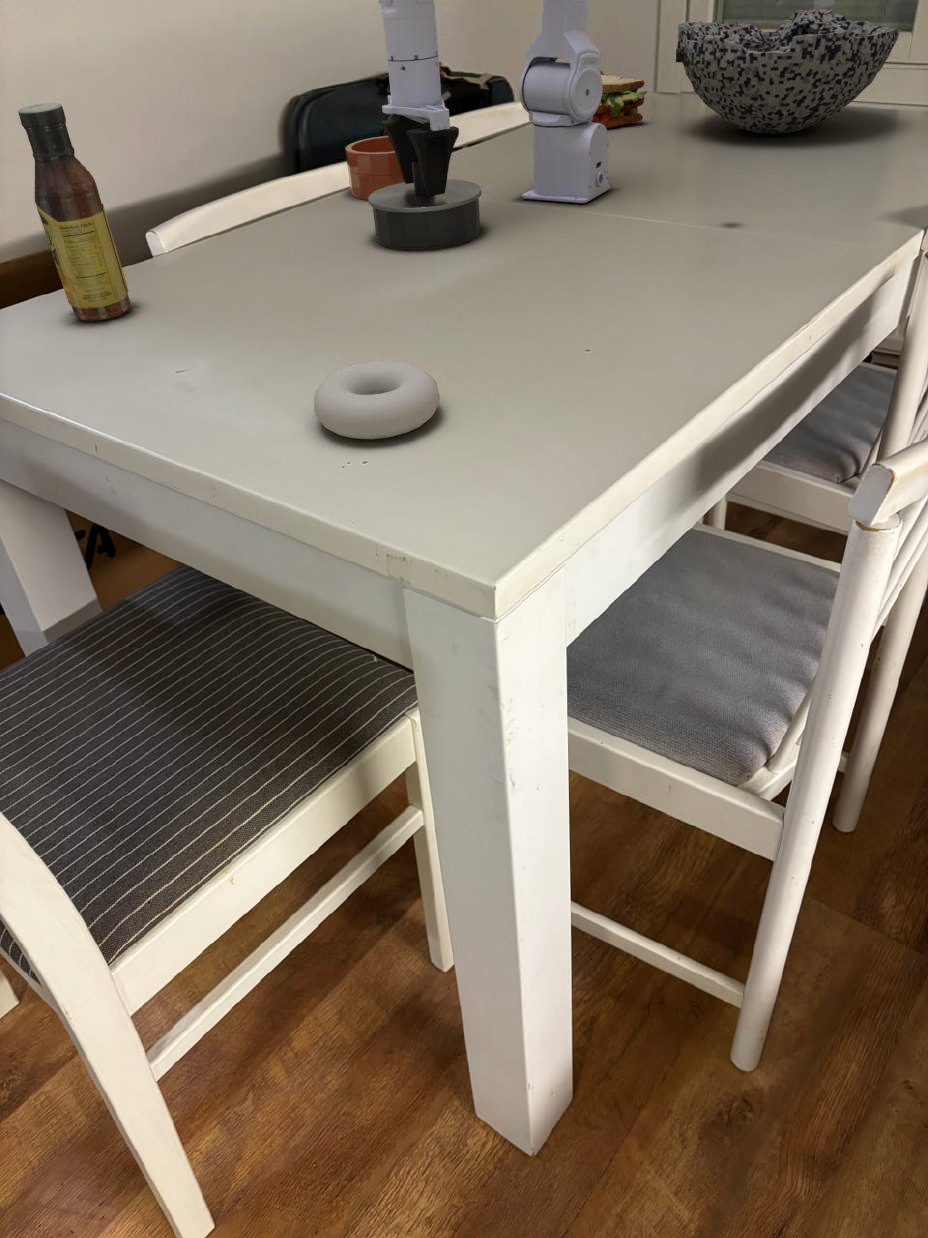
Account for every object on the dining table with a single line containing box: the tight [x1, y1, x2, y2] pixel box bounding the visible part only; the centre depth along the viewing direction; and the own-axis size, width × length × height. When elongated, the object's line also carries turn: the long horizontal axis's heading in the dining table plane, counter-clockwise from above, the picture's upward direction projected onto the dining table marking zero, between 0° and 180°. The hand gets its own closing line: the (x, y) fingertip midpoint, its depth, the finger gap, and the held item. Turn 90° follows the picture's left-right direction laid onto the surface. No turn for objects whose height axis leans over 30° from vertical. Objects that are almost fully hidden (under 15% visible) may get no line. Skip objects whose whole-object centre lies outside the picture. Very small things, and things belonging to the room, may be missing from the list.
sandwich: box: [591, 69, 648, 129], centre depth 161 cm, size 16×12×8 cm
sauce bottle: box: [17, 102, 132, 322], centre depth 96 cm, size 7×6×20 cm
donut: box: [313, 360, 440, 440], centre depth 75 cm, size 10×4×10 cm
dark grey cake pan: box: [372, 197, 481, 252], centre depth 116 cm, size 13×13×4 cm
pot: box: [344, 135, 404, 201], centre depth 135 cm, size 12×12×6 cm
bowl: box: [675, 9, 901, 135], centre depth 146 cm, size 31×31×15 cm
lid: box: [367, 159, 482, 213], centre depth 113 cm, size 14×14×5 cm
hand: (424, 188), depth 114 cm, fingers open, 7 cm apart
